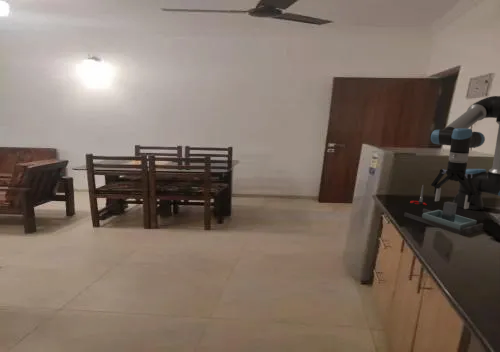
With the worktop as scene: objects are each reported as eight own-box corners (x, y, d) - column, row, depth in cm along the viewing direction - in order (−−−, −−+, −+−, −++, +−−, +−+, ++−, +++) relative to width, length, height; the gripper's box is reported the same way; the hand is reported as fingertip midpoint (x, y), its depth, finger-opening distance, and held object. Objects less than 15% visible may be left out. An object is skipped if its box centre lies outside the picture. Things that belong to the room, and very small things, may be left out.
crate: (437, 216, 164) (438, 209, 163) (475, 228, 148) (476, 220, 148) (421, 220, 157) (422, 213, 156) (459, 233, 142) (460, 225, 141)
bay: (423, 213, 172) (424, 206, 171) (481, 231, 147) (483, 223, 147) (403, 218, 164) (404, 210, 163) (462, 238, 139) (463, 229, 138)
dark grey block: (445, 220, 155) (448, 201, 153) (454, 223, 152) (457, 203, 150) (441, 221, 153) (444, 202, 151) (449, 224, 150) (452, 204, 148)
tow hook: (408, 202, 196) (413, 205, 187) (410, 182, 194) (416, 184, 185) (422, 203, 195) (428, 206, 186) (424, 182, 193) (431, 185, 184)
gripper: (427, 158, 155) (421, 198, 160) (483, 166, 134) (475, 213, 139) (436, 157, 159) (430, 197, 163) (492, 165, 138) (483, 210, 142)
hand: (450, 204), depth 151 cm, fingers open, 13 cm apart
